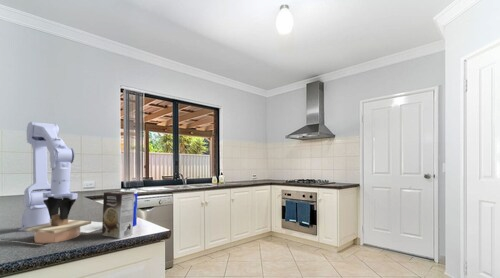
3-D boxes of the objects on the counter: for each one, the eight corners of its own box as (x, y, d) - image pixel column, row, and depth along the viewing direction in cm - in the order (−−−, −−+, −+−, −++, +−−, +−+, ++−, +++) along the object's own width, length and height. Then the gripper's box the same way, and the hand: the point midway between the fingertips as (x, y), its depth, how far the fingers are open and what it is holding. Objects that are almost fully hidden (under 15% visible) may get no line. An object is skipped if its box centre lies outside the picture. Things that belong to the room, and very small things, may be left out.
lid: (24, 230, 91) (25, 217, 91) (63, 221, 104) (64, 210, 105) (54, 233, 87) (55, 220, 87) (91, 223, 100) (91, 212, 100)
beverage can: (131, 228, 108) (132, 191, 109) (120, 228, 109) (121, 191, 110) (139, 225, 113) (140, 190, 114) (128, 225, 114) (129, 190, 115)
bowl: (25, 242, 91) (25, 230, 91) (61, 232, 103) (62, 221, 103) (52, 245, 87) (53, 233, 87) (87, 235, 99) (88, 224, 99)
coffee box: (100, 236, 97) (102, 192, 98) (115, 232, 103) (117, 190, 104) (119, 239, 93) (120, 193, 95) (133, 234, 99) (134, 191, 101)
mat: (58, 231, 105) (58, 229, 105) (91, 222, 119) (91, 221, 119) (87, 234, 100) (88, 232, 100) (118, 224, 115) (118, 223, 115)
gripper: (34, 181, 95) (32, 219, 94) (65, 182, 91) (63, 222, 89) (54, 179, 102) (52, 215, 100) (83, 180, 97) (81, 218, 96)
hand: (58, 218), depth 95 cm, fingers open, 4 cm apart
